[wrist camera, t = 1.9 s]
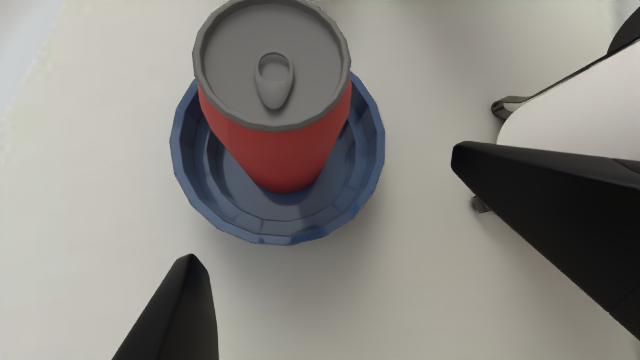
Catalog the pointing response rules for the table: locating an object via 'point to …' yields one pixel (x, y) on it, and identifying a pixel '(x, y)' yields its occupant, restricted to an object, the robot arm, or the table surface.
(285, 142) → the beer can
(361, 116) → the bowl
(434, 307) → the table surface
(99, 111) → the table surface
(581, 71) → the coffee press
